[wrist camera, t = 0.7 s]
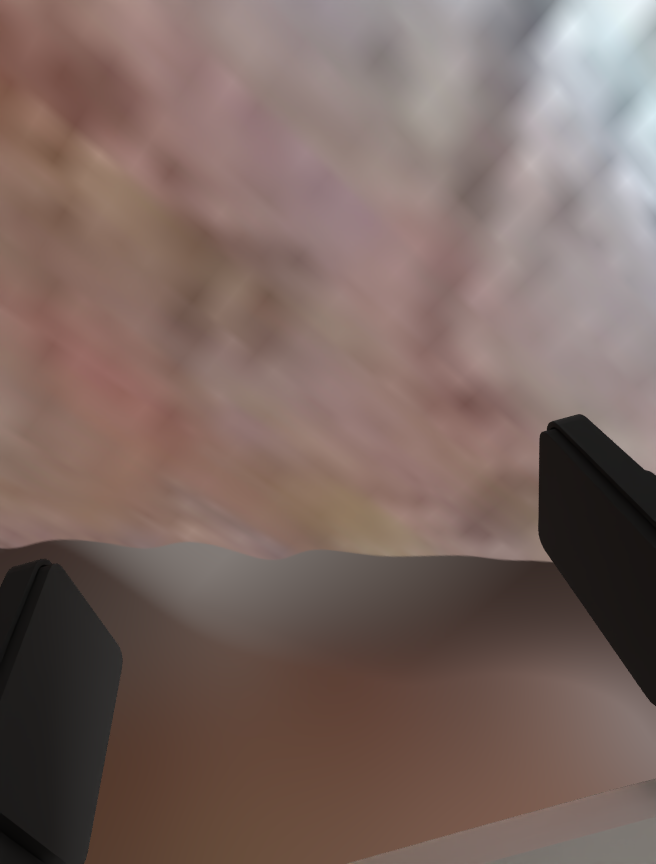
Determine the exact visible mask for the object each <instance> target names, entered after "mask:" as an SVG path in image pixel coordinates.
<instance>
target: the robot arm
mask: <svg viewBox="0 0 656 864" xmlns="http://www.w3.org/2000/svg"><path fill="white" fill-rule="evenodd" d="M538 532H539V538H540V541H541V544H542V546H543V548H544V549H545V551H546V553H547V554H548V555H549V557H550V558H551V560H552V561H553V563H554V564H555V565H556V567H557V568H558V570H559V571H560V573H561V574H562V575H563V577H564V578H565V580H566V581H567V583H568V584H569V586H570V587H571V589H572V590H573V591H574V593H575V594H576V596H577V597H578V599H579V600H580V601H581V603H582V604H583V606H584V607H585V609H586V610H587V612H588V613H589V615H590V616H591V617H592V619H593V620H594V622H595V623H596V625H597V626H598V628H599V629H600V630H601V632H602V633H603V635H604V636H605V638H606V639H607V640H608V642H609V643H610V645H611V646H612V648H613V649H614V651H615V652H616V653H617V655H618V656H619V658H620V659H621V661H622V662H623V664H624V665H625V666H626V668H627V669H628V671H629V672H630V674H631V675H632V677H633V678H634V679H635V681H636V682H637V684H638V685H639V687H640V688H641V689H642V691H643V692H644V694H645V695H646V697H647V698H648V699H649V700H650V702H651V703H653V704H654V705H655V706H656V475H654V474H653V473H652V472H650V471H647V470H644V469H643V468H642V467H641V466H640V465H638V464H637V463H636V462H635V461H634V460H633V459H632V458H631V457H630V456H628V455H627V454H626V453H625V452H624V451H623V450H622V449H621V448H620V447H619V446H617V445H616V444H615V443H614V442H613V441H612V440H611V439H610V438H609V437H607V436H606V435H605V434H604V433H603V432H602V431H601V430H600V429H599V428H598V427H596V426H595V425H594V424H593V423H592V422H591V421H590V420H589V419H588V418H586V417H585V416H583V415H580V414H578V415H574V416H570V417H567V418H563V419H559V420H556V421H552V422H550V423H549V424H548V426H547V431H544V432H542V433H541V434H540V446H539V523H538ZM121 670H122V653H121V650H120V647H119V646H118V644H117V643H116V642H115V640H114V639H113V637H112V636H111V634H110V633H109V632H108V630H107V629H106V627H105V626H104V625H103V623H102V622H101V620H100V619H99V618H98V616H97V615H96V613H95V612H94V611H93V609H92V608H91V607H90V605H89V604H88V602H87V601H86V600H85V598H84V597H83V595H82V594H81V593H80V591H79V590H78V589H77V587H76V586H75V584H74V583H73V582H72V580H71V579H70V577H69V576H68V575H67V573H66V572H65V570H64V569H63V568H62V567H61V566H60V565H59V564H52V563H51V562H50V561H49V560H46V559H40V560H36V561H33V562H29V563H25V564H22V565H18V566H14V567H12V568H11V569H9V571H8V572H7V574H6V576H5V578H4V580H3V583H2V584H1V587H0V864H84V862H85V860H86V856H87V853H88V847H89V842H90V837H91V832H92V826H93V821H94V815H95V810H96V805H97V799H98V794H99V788H100V783H101V778H102V772H103V767H104V761H105V756H106V751H107V745H108V740H109V735H110V729H111V724H112V718H113V712H114V708H115V702H116V697H117V691H118V686H119V680H120V675H121ZM348 864H656V779H653V780H649V781H645V782H641V783H637V784H633V785H629V786H625V787H621V788H617V789H613V790H610V791H606V792H603V793H599V794H595V795H592V796H588V797H584V798H581V799H577V800H574V801H570V802H566V803H563V804H559V805H556V806H552V807H549V808H545V809H541V810H538V811H534V812H530V813H527V814H523V815H520V816H516V817H512V818H508V819H505V820H501V821H498V822H494V823H490V824H487V825H483V826H480V827H476V828H472V829H469V830H465V831H461V832H458V833H454V834H451V835H448V836H444V837H440V838H436V839H433V840H430V841H426V842H422V843H419V844H415V845H412V846H408V847H404V848H401V849H398V850H394V851H390V852H387V853H383V854H379V855H376V856H373V857H369V858H365V859H362V860H358V861H355V862H351V863H348Z"/></svg>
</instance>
